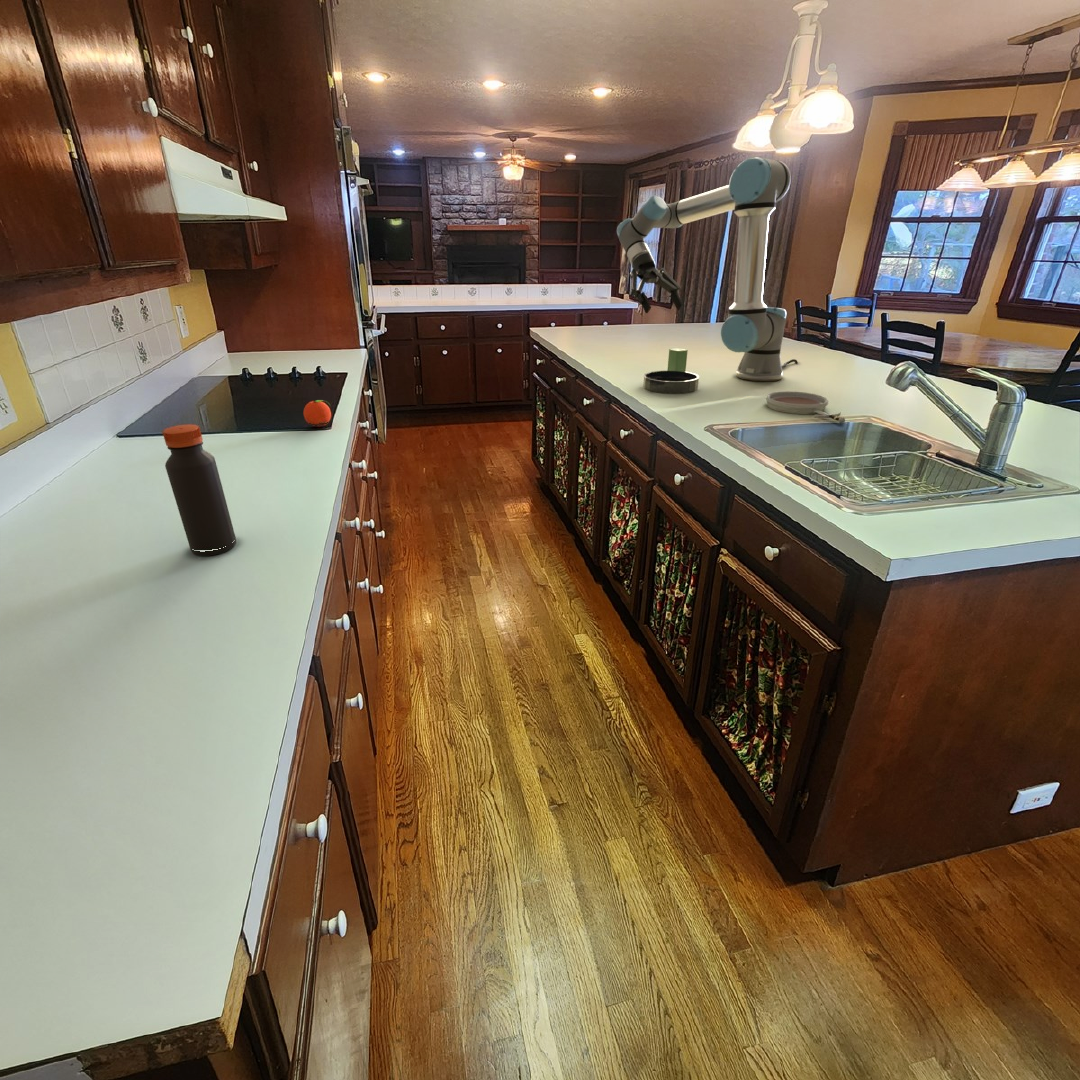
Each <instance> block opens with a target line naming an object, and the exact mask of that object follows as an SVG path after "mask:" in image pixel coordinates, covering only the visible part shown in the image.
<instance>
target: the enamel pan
mask: <svg viewBox="0 0 1080 1080" xmlns="http://www.w3.org/2000/svg"><path fill="white" fill-rule="evenodd" d="M699 379H700V376H699V375H698V374H697V373H693V372H689V371H686V372H683V371H667V370H654V371H649V372H646V373H644V375H643V385H642V386H643V387H642V388H643V389H645V390H647V391H649V392H653V393H656V394H657V393H658V394H671V395H677V394H679V395H680V394H688V393H689V394H690V393H693V392H696V391H697V390H698V389H699V388H698V387H699Z"/></svg>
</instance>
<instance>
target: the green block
mask: <svg viewBox="0 0 1080 1080" xmlns="http://www.w3.org/2000/svg"><path fill="white" fill-rule="evenodd" d="M688 352H689V351H688V349H684V348H681V347H677V348H669V349H668V358H667V359H668V360H667V370H666V371H683V372H687V370H686V369H687V361H688V360H687V359H688Z"/></svg>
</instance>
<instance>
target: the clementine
mask: <svg viewBox="0 0 1080 1080" xmlns="http://www.w3.org/2000/svg"><path fill="white" fill-rule="evenodd" d="M325 402H326V403H327V404H328V405H327V404H326V403H325ZM329 406H331V404H330V403H329V402H328V401H327V400H323V399H317V400H316V399H314V400H312V401H309V402H308V403H307V404H306V405H305V406H304V408H303V418H304V420H305V422H306V423H307V424H309V423H311V424H319V423H327V422H328V423H330V421H331V418H332V412H331V408H330V407H329ZM328 423H327V424H328ZM327 424H324V425H317V426H315V425H311V426H312V427H315V428H323V427H325V426H326V425H327Z"/></svg>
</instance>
